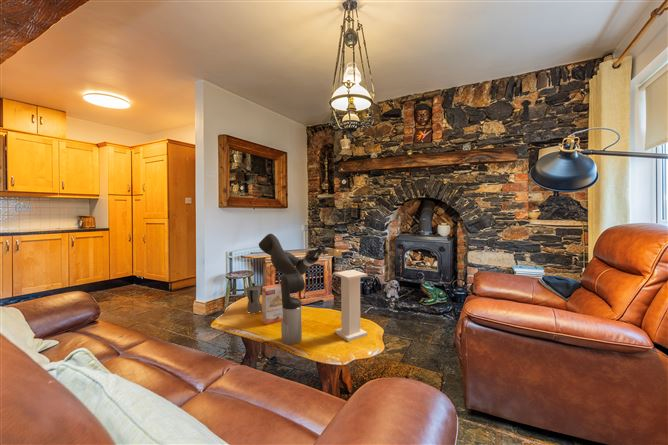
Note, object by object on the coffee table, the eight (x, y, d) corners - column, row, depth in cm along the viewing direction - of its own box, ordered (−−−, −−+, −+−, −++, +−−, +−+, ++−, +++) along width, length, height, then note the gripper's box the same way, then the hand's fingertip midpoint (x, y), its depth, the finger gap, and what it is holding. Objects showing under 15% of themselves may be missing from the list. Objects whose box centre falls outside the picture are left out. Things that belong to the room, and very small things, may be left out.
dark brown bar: (334, 256, 155) (334, 251, 155) (315, 251, 172) (315, 246, 172) (341, 255, 158) (341, 250, 158) (322, 250, 175) (322, 245, 175)
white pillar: (348, 341, 141) (348, 277, 139) (334, 332, 151) (334, 272, 149) (367, 335, 148) (367, 274, 146) (353, 327, 158) (352, 269, 156)
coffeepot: (248, 307, 188) (247, 280, 187) (263, 307, 189) (262, 280, 188) (243, 317, 173) (242, 287, 172) (259, 316, 174) (258, 287, 173)
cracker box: (266, 325, 161) (265, 289, 159) (262, 322, 165) (261, 286, 164) (288, 319, 169) (288, 284, 167) (284, 316, 174) (283, 282, 172)
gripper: (299, 254, 180) (310, 243, 167) (318, 251, 188) (330, 241, 175) (302, 265, 178) (314, 255, 164) (321, 262, 185) (334, 252, 172)
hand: (322, 248), depth 170 cm, fingers closed on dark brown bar, 2 cm apart
